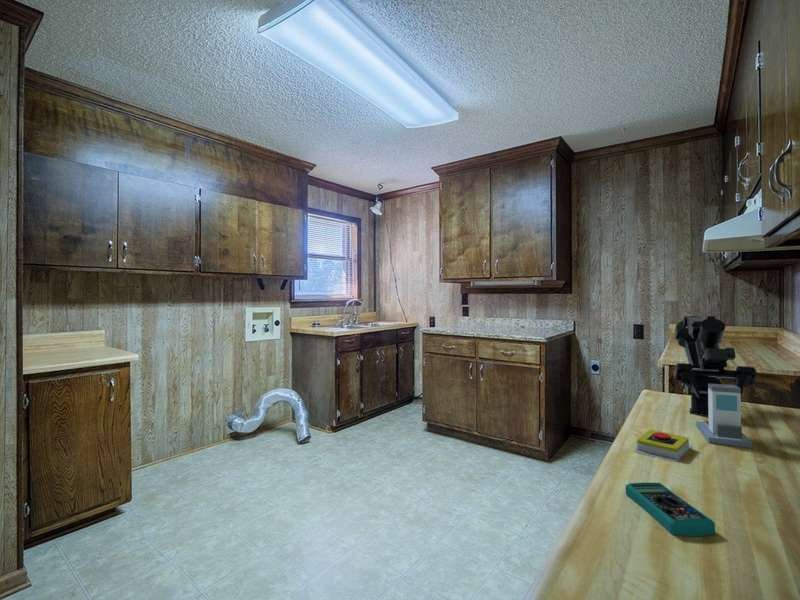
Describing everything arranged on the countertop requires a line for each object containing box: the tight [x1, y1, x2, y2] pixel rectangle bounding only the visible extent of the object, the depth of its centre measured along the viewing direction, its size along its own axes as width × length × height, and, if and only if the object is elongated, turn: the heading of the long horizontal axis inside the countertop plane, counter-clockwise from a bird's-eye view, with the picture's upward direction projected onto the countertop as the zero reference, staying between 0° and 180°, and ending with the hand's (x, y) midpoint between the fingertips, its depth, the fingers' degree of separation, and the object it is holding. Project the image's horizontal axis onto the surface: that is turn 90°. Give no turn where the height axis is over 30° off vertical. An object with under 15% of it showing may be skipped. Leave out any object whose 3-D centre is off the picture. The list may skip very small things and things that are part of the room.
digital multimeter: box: [625, 482, 716, 537], centre depth 74 cm, size 7×15×3 cm, turn 0°
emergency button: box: [634, 429, 692, 463], centre depth 104 cm, size 9×4×15 cm
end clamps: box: [717, 424, 743, 439], centre depth 110 cm, size 10×5×3 cm, turn 154°
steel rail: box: [703, 420, 742, 441], centre depth 112 cm, size 15×5×1 cm, turn 154°
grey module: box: [708, 383, 742, 434], centre depth 110 cm, size 5×6×12 cm
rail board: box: [695, 420, 753, 449], centre depth 112 cm, size 15×9×2 cm, turn 154°
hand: (719, 398), depth 114 cm, fingers open, 9 cm apart
